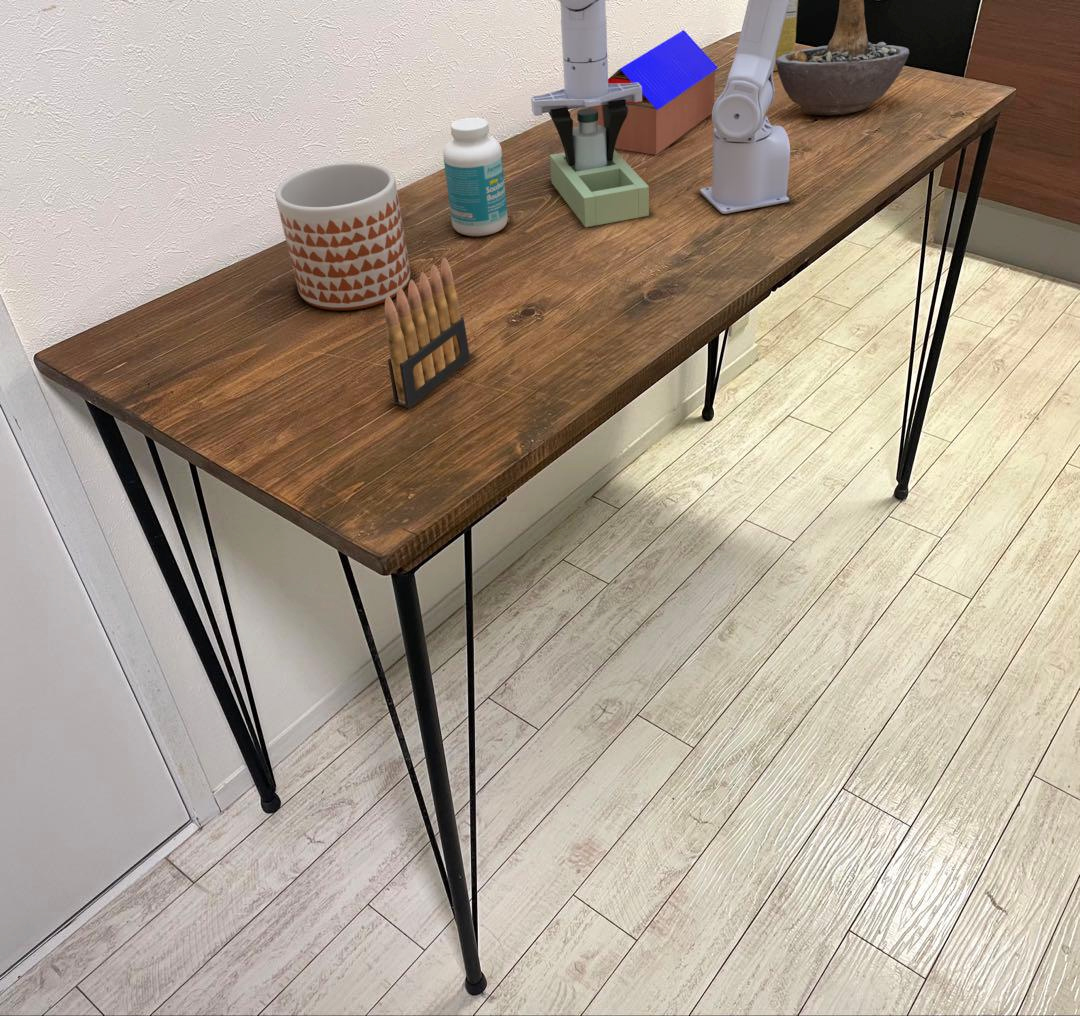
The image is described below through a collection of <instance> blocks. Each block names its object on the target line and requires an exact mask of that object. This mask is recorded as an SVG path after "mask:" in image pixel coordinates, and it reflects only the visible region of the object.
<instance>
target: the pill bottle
mask: <svg viewBox="0 0 1080 1016" xmlns="http://www.w3.org/2000/svg"><path fill="white" fill-rule="evenodd" d="M489 132H490V128H489V122H488V120H487V119H485V118H482V117H464V118H459V119H457V120H455V121H453V122H452V123H451V124H450V135H451V136H452V138H453V139H451V140H450V141H449V142H447V143H446V144H445V147H444V149H443V154H442V155H443V164H444V173H445V179H446V187H447V195H448V203H449V212H450V218H451V225H452V228H453V230H454V231H456V232H457V233H459V234H461V235H463V236H469V237H484V236H489V235H492V234H496V233H497V232H500V231H501V230H503V229H504V228H505V227H506V226H507V223H508V221H509V220H508V205H507V194H506V185H505V173H504V172H505V171H504V162H503V160H504V159H503V150H502V146H501V144H500V142H499V141H498V140H497V139H496V138H494V137H492V136H490V133H489Z"/></svg>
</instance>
